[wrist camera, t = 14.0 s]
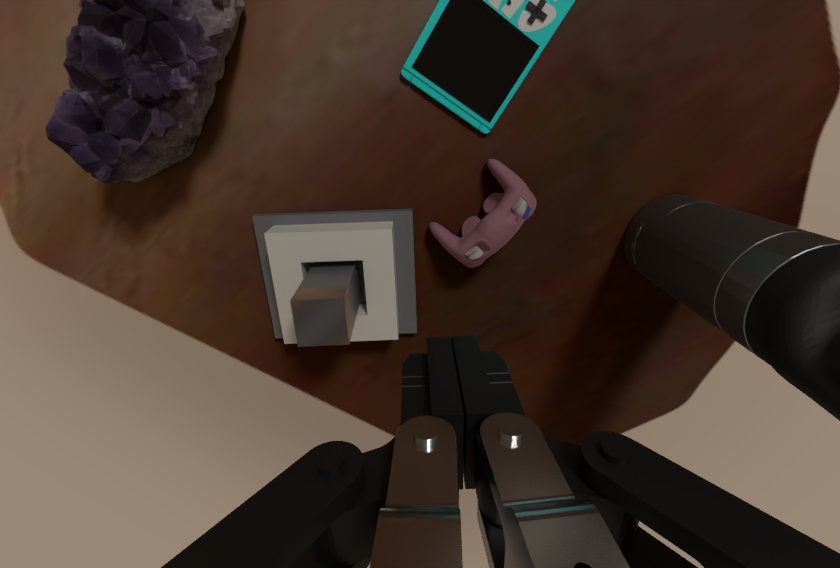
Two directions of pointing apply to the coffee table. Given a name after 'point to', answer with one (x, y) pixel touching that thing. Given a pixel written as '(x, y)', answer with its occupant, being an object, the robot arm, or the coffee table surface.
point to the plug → (327, 304)
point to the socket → (342, 241)
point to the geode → (141, 83)
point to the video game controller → (490, 220)
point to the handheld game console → (481, 53)
